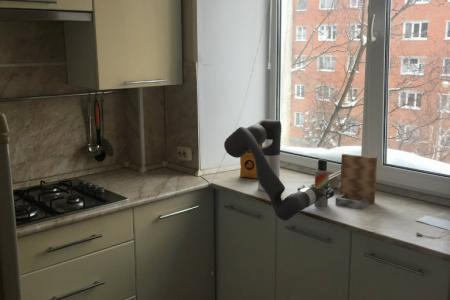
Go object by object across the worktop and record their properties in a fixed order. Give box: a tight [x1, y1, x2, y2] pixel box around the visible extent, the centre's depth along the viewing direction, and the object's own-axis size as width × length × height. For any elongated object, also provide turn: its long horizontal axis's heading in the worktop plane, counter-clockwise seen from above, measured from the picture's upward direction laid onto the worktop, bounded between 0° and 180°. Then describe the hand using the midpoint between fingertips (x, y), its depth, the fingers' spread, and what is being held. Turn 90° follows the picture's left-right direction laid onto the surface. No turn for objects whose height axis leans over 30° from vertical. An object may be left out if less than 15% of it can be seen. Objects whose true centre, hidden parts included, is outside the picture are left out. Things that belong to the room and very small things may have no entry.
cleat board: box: [335, 153, 378, 210], centre depth 226 cm, size 15×12×20 cm
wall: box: [312, 169, 341, 189], centre depth 252 cm, size 16×9×15 cm
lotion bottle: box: [313, 158, 330, 208], centre depth 224 cm, size 6×6×20 cm
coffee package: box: [239, 144, 264, 180], centre depth 272 cm, size 10×12×22 cm
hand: (322, 187), depth 225 cm, fingers open, 8 cm apart
